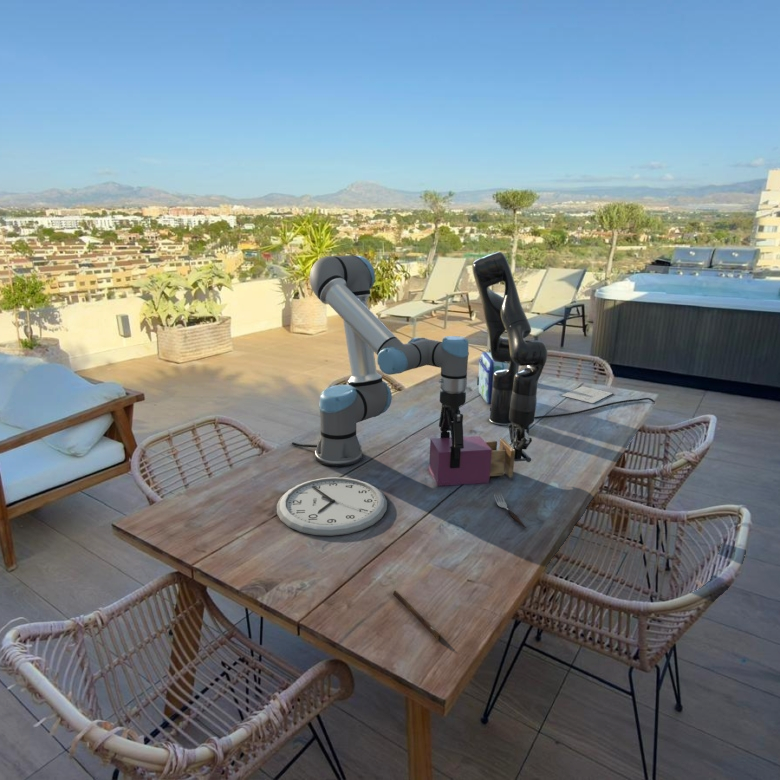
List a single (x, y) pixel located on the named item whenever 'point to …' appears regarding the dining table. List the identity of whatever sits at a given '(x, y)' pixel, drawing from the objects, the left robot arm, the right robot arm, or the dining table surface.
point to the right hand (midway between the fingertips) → (516, 459)
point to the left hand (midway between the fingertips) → (449, 459)
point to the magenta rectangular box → (471, 462)
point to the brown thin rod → (416, 614)
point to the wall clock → (331, 506)
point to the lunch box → (488, 375)
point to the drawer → (503, 458)
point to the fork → (504, 505)
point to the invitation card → (587, 394)
